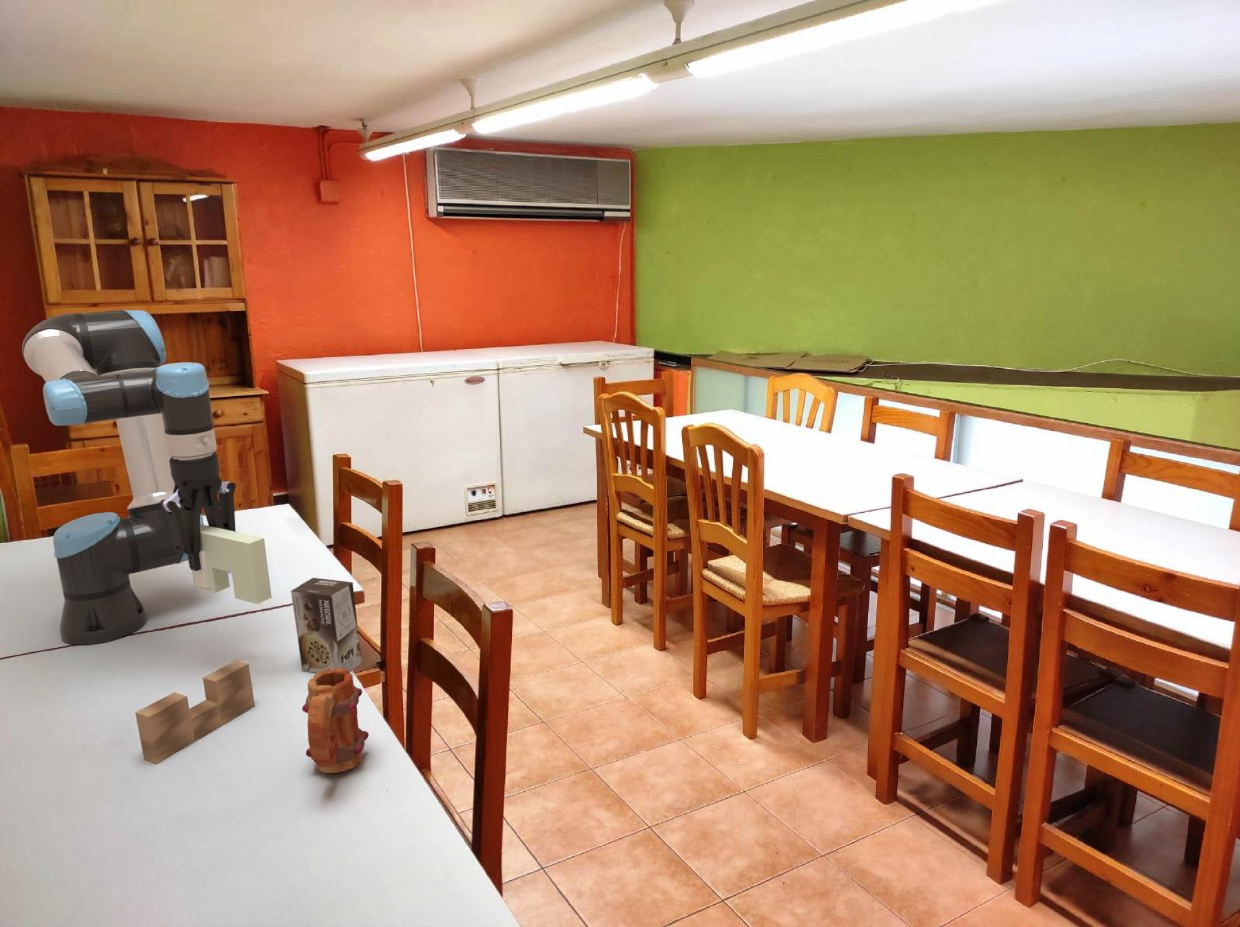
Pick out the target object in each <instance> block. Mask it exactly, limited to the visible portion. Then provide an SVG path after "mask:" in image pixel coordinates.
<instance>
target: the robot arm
mask: <svg viewBox="0 0 1240 927" xmlns="http://www.w3.org/2000/svg"><path fill="white" fill-rule="evenodd" d="M165 348H166V345H165V342H164V339H163V335H162V332H161V330H160V328H159V326H158V324H157V322H156V320H155V319H154V318H153V316H152V315H151V314H150V313H149V312H147V311H145V310H141V309H139V310H138V309H137V310H133V309H132V310H128V309H127V310H126V309H120V310H119V309H116V310H109V311H108V310H103V311H94V312H90V311H89V312H77V313H76V312H75V313H72V312H71V313H63V314H57V315H55V316H51V317H49V318H47V319H45V320H42V321H41V322H39V323H38V324H36V325H35V326H34V327H32V328H31V329H30V330H29V332H28V333H26V335H25V338H24V339H23V342H22V346H21V352H22V357H23V359H24V361H25V363H26V364H27V366H28V368H30V370H32V371H33V372H34V373H35V374H37V375H39V376H41V377H42V378H43V380H44V382H45V383H44V385H43V389H42V393H43V394H42V395H43V401H44V404H45V410H46V414H47V415H48V419H49V421H50V422H51V423H52V424H53V425H54V426H58V427H60V426H61V427H63V426H80V425H84V424H91V423H97V422H105V421H111V420H115V423H116V425H117V430H118V436H119V441H120V443H121V444H120V445H121V449H122V453H123V457H124V458H123V459H124V462H125V467H126V471H127V475H128V480H129V484H130V489H131V494H132V497H133V498H132V501H130V503H129V505H128V506H127V507H126V509H127V513H128V514H127V515H128V516H126V517H121V518H120V516H119V515H118V514H117V513H115V512H111V511H108V512H107V511H106V512H98V513H92V514H88V515H84V516H82V517H79V518H76V519H72V520H70V521H68V522H66V523H65V524H63V525H62V526H60V527H59V528H57V530H56V531H55V532H54V534H53V538H52V539H53V540H52V542H53V546H54V547H53V548H54V553H53V556H54V558H56V562H57V568H58V573H59V578H60V583H61V584H60V585H61V589H62V594H63V599H64V602H63V608H62V612H61V617H60V618H61V619H60V624H59V632H60V637H61V640H62V641H63V642H64V643H66V644H71V645H77V646H78V645H93V644H102V643H104V642H110V641H114V640H117V639H120V638H122V637H123V638H124V637H126V636H128V635H130V634H133V633H134V632H136V631H138V630H139V629H141V628H142V627H143V626H144V625H145V624H146V622H147V619H148V618H147V615H146V609H145V607H144V605H143V604H142V602H141V600H140V599H139V597H138V595H137V594H136V593H135V591H134V589H133V588H132V586H131V580H130V575H132V574H135V573H141V572H145V571H150V570H155V569H158V568H162V567H167V566H172V565H180V564H181V563H183V562H186V561H188V566H189V569H190V570H191V571H192V570H193V571H194V575H195V581H196V585H198V586H201V587H205V588H207V587H210V582H209V576H208V569H207V562H206V556H205V552H204V551H200V524H202V525H205V524H204V518H203V511H204V515H205V518H206V521H207V524H208V525H207V526H211V527H216V528H220V529H225V530H230V531H234V532H237V531H236V515H235V514H236V512H235V491H236V488H237V487H236V486H237V483H235V482H232V481H226V480H222V478H221V477H220V475H219V474H220V473H221V468H220V459H219V454H218V453H216V450H217V449H218V448H217V447H218V446H217V439H216V433H215V427H214V418H213V412H212V411H213V410H212V404H211V396H210V391H209V390H210V382H209V380H208V376H207V372H206V368H205V366H204V365H203V364H201V363H198V362H185V361H184V362H175V363H174V362H173V363H167V364H164V363H165V362H166V360H167V352H166V349H165Z"/></svg>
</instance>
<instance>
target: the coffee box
mask: <svg viewBox="0 0 1240 927" xmlns="http://www.w3.org/2000/svg"><path fill="white" fill-rule="evenodd" d="M354 590H355V589H354V582H351V581H345V580H335V579H328V578H327V579H326V578H317V577H312V578H309V579H308V580H306V581H304V582H303V583H302V584H300V585H298V586H297V587H295V588H294V589H291V590H290V594H291V600H292V606H293V607H292V608H293V614H294V622H295V628H296V630H295V631H296V636H297V642H298V643H297V644H298V651H299V657H300V664H301V670H302V672H308V673H314V674H316V673H318V672H321V671H324V670H326V669H328V668H329V669H330V670H331V671H332V670H334V669H335V668H341V669H346V670H348V671H349V672H350V673H351V671H352V670H353V669H355V668H357V666H359V665H361V663H362V656H361V655H362V653H361V646H360V635H359V627H358V626H359V625H358V618H357V608H356V600H355V591H354Z"/></svg>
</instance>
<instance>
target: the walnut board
mask: <svg viewBox="0 0 1240 927" xmlns="http://www.w3.org/2000/svg"><path fill="white" fill-rule="evenodd" d="M250 670H251V668H250V664H249V663H248V662H244V661H241V660H237V659H236V660H234V661H232V662H230V663H228V664H226V665H224V666H222V667H221V668H218V669H216V670H215V671H214V670H213V672H211V673H209V674H207V675H205V676H203V677H202V681H203V682H202V684H203V690H204V695H205V696H204V697H205V699H204V700H203V701H201V702H199V703H198V704H196V705H193V706H192V707H190V705H189V698H188V696H187V695H184V694H181V693H179V692H176V691H173V692H172V693H171V694H168V695H165V697H163V698H160V699H159V700H157V701H154V702H152V703H151V704H149V705H147V706H145V707H143V708H141V709H139V710H137V711H135V717H136V724H137V728H138V734H139V740H140V744H141V752H142V755H143V759H144V760H146V761H148V762H151V763H153V764H155V765H158V764H159V763H161V762H162V761H163V762H164V761H165V760H166V759H167V758H169V757H171V756H173V755H175V754H176V753H178V752H180V751H181V750H183V749H185V748H186V747H188V746H190V745H192V744H193V743H195V742H197V741H198V740H200V739H202V738H203V737H205V736H207V735H209V734H210V733H212V732H214V731H215V730H217V729H219V728H221V727H223V726H224V725H226V724H228V723H229V722H231V721H232V720H234V719H236V718H238V717H239V716H242V715H243V714H244V713H246V712H249V711H250V710H251V709H253V708H255V707H256V705H255V699H254V698H255V697H254V691H253V685H252V677H251V671H250Z"/></svg>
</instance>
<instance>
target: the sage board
mask: <svg viewBox="0 0 1240 927" xmlns="http://www.w3.org/2000/svg"><path fill="white" fill-rule="evenodd" d="M266 550H267V549H266V542H265V538H264V537H261V536H257V535H251V534H247V533H244V532H239V531H238V532H237V531H236V532H234V531H230V530H225V529H220V528H216V527H211V526H209V525H206V524H204V525H202V524H200V551H204V552H205V556H206V562H207V569H208V576H209V582H210V587H207V588H205V587H201V586H198V585H196V581H195V575H194V571H193V570H191V572H192V573H191V574H192V578H193V586H194V588H196V589H199V590H202V591H207V592H211V593H214V594H216V593H219V592H221V591H223V590H226V589H228V588H230V587H231V584H230V577H229V573H231V577H232V578H231V579H232V586H233V592H234V599H236V600H241V601H243V602H248V603H252V604H255V605H259V604H261V603H263V602H266V601H268V600H269V599H272V588H271V582H270V581H271V580H270V574H269V566H268V558H267V551H266Z"/></svg>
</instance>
